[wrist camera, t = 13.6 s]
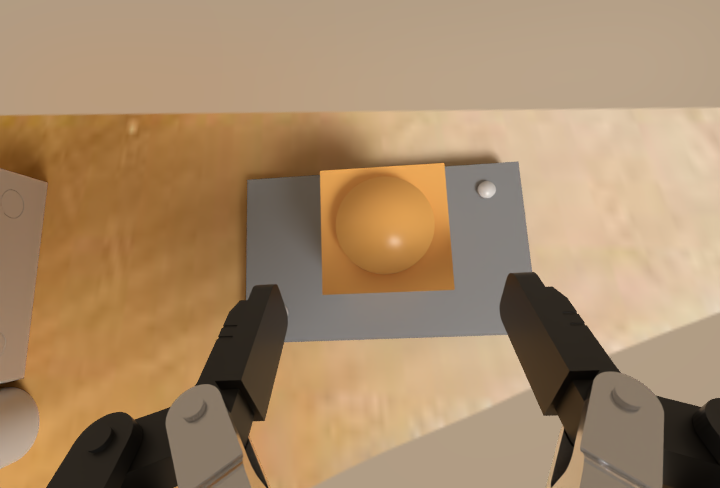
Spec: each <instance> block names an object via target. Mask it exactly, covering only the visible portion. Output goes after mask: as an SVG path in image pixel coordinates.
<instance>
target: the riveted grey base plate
mask: <svg viewBox="0 0 720 488" xmlns="http://www.w3.org/2000/svg"><path fill="white" fill-rule="evenodd" d="M445 178H446V190H447V202H448V214H449V226H450V238H451V250H452V263H453V275H454V287H455V290H440V291H413V292H387V293H360V294H334V295H322V246H321V195H320V175H312V176H297V177H283V178H268V179H253V180H247V263H246V300H248V298H249V296H250V293H251V291H252V289H253V287H254V286H255V285H267V284H277V285H278V287H279V290H280V293H281V296H282V299H283V302H284V305H285V308H286V311H287V315H288V327H287V332H286V336H285V340H284V342H304V341H334V340H364V339H394V338H424V337H454V336H484V335H508V334H507V332H506V329H505V327H504V325H503V323H502V320H501V317H500V309H499V307H500V301H501V297H502V294H503V290H504V286H505V283H506V279H507V276H508V274H509V273H521V272H532V267H531V259H530V251H529V243H528V235H527V227H526V219H525V211H524V203H523V195H522V187H521V179H520V171H519V163H518V162H505V163H491V164H476V165H461V166H446V167H445Z"/></svg>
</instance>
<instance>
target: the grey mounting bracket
mask: <svg viewBox="0 0 720 488" xmlns="http://www.w3.org/2000/svg"><path fill="white" fill-rule="evenodd" d="M38 429H39V412H38V408H37V405H36V403H35V401H34V400H33V398H32V397H31V396H30V395H29V394H28V393H27V392H25V391H24V390H22V389H19V388H15V387H6V388H1V389H0V469H1V468H3V467H5V466H7V465H9V464H11V463H13V462H15V461H17V460H19V459H20V458H22V457H23V456H24V455H25V454H26V453H27V452H28V451H29V449H30V448H31V447H32V445H33V443H34V441H35V439H36V436H37V433H38Z"/></svg>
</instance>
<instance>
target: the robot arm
mask: <svg viewBox="0 0 720 488" xmlns="http://www.w3.org/2000/svg"><path fill="white" fill-rule="evenodd" d="M499 309H500V317H501V320H502V323H503V325H504V327H505V329H506V332H507V334H508V336H509V338H510V341H511V343H512V345H513V347H514V350H515V352H516V354H517V356H518V359H519V361H520V363H521V365H522V368H523V370H524V372H525V374H526V377H527V379H528V381H529V383H530V386H531V388H532V390H533V392H534V395H535V397H536V399H537V401H538V404H539V406H540V408H541V410H542V413H543V415H546V416H547V415H549V416H550V415H558V416H559V418H560V420H561V422H562V424H563V426H562V427H561V430H560V434H559V437H558V442H557V445H556V449H555V453H554V457H553V461H552V465H551V468H550V473H549V476H548V480H547V484H546V488H720V398H715V399H712V400H710V401H708V402H707V403H706V404H705V405H704V406H703V407H698V406H695V405H691V404H687V403H682V402H679V401H675V400H670V399H666V398H663V397H659V396H656V395H655V394H654V393H653V392H652V391H651V390H650V389H649V388H648V387H647V386H645V385H644V384H643V383H641V382H640V381H638V380H636V379H634V378H632V377H630V376H627V375H625V374H622V373H621V372H620V371H619V370H618V369H617V367H616V366H615V365H614V364H613V362H612V361H611V359H610V358H609V356H608V355H607V353H606V352H605V351H604V349H603V348H602V346H601V345H600V344H599V342H598V341H597V339H596V338H595V336H594V335H593V334H592V332H591V331H590V329H589V328H588V327H587V325H585V324H584V323H585V322H584V321H583V320H582V318H581V317H580V315H579V314H577V313H576V312H577V311H576V310H575V308H574V307H573V306H572V304H571V303H570V301H569V300H568V298H567V297H565V296H564V295H563V294H561V293H560V292H559V291H557V290H556V289H555V288H553V287H545V286H544V284H543V283H542V281H541V280H540V278H539V277H538V275H537V274H536V273H534V272H521V273H509V274H508V276H507V279H506V283H505V286H504V290H503V294H502V297H501V301H500V307H499ZM223 326H224V327H223V328H222V329H221V332H220V334H219V336H218V337H219V338H218V339H217V340H216V343H215V345H214V347H213V349H212V351H211V354H210V356H209V358H208V360H207V362H206V365H205V367H204V369H203V371H202V373H201V376H200V378H199V380H198V382H197V384H196V385H195V387H192V388H190V389H188V390H187V391H185V392H184V393H183V394H181V395H180V396H179V397H178V398H177V399H176V400H175V402H174V403H173V404H172V406H171V407H169V408H167V409H164V410H161V411H158V412H155V413H153V414H150V415H147V416H144V417H141V418H138V419H135V420H134V419H133V418H132V417H131V416H130V415H128V414H127V413H123V412H116V413H111V414H108V415H106V416H104V417H102V418H100V419H98V420H97V421H95V422H94V423H92V424H91V425H90V426H89V427H88V428H86V429H85V430H84V431H83V432H82V434H81V435H80V436H79V437H78V438H77V440H76V441H75V443H74V444H73V446H72V447H71V449H70V451H69V452H68V454H67V455H66V457H65V459H64V460H63V462H62V463H61V465H60V467H59V468H58V470H57V471H56V473H55V475H54V476H53V478H52V479H51V481H50V482H49V484H48V486H47V487H46V488H174V487H176V486H178V488H271V487H270V485H269V482H268V480H267V477H266V475H265V472H264V470H263V467H262V465H261V463H260V460H259V458H258V455H257V453H256V450H255V448H254V446H253V443H252V441H251V438H250V436H249V433H250V429H251V426H252V422H253V421H265V417H266V413H267V409H268V405H269V401H270V397H271V393H272V389H273V384H274V380H275V376H276V372H277V368H278V364H279V360H280V356H281V352H282V348H283V344H284V340H285V336H286V332H287V327H288V315H287V311H286V308H285V305H284V302H283V299H282V296H281V293H280V290H279V287H278V285H277V284H267V285H255V286H254V287H253V289H252V291H251V293H250V296H249V298H248V300H242V301H239V302H238V304H237V305H236V306H235V307H234V308H233V309H232V310H231V311H230V312H229V314H228V316H227V318H226V321H225V323H224V325H223Z"/></svg>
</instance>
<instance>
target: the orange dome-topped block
mask: <svg viewBox="0 0 720 488" xmlns="http://www.w3.org/2000/svg"><path fill="white" fill-rule="evenodd" d="M320 195H321V246H322V295H334V294H360V293H387V292H413V291H440V290H455V287H454V275H453V263H452V250H451V238H450V226H449V214H448V202H447V190H446V178H445V166H444V163H436V164H420V165H404V166H388V167H373V168H357V169H341V170H325V171H320Z"/></svg>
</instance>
